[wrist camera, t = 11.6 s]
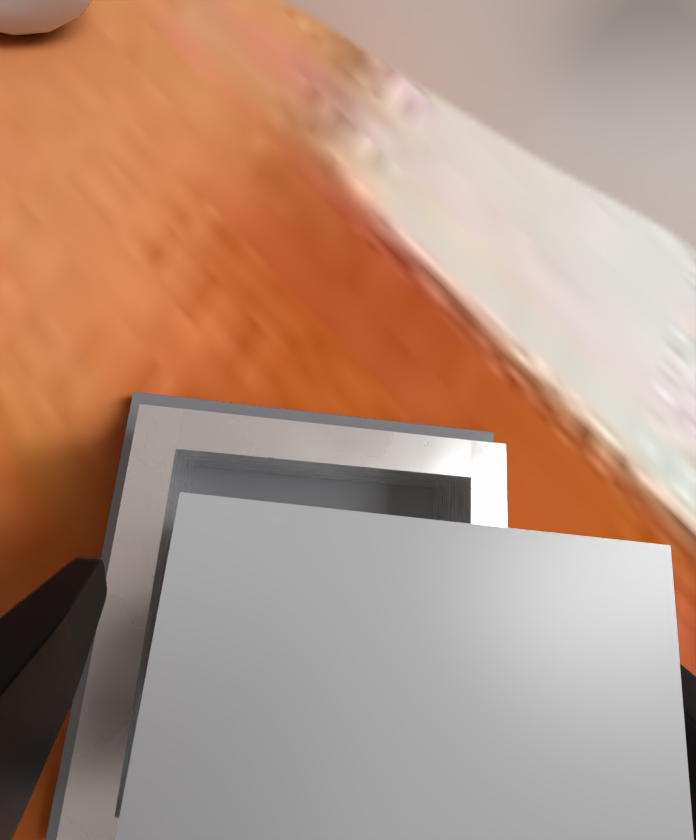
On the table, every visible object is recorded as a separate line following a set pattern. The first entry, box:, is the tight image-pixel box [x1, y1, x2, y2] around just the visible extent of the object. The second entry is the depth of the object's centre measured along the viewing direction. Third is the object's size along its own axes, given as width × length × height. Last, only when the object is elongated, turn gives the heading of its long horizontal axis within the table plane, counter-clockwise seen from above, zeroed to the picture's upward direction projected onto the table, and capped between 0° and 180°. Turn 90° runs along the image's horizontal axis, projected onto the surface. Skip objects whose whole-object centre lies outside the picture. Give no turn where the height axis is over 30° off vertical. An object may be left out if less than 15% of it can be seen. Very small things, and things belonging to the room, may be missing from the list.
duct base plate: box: [46, 392, 493, 840], centre depth 17 cm, size 14×14×1 cm
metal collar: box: [56, 404, 507, 840], centre depth 15 cm, size 11×11×4 cm
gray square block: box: [115, 492, 694, 840], centre depth 10 cm, size 5×5×13 cm
